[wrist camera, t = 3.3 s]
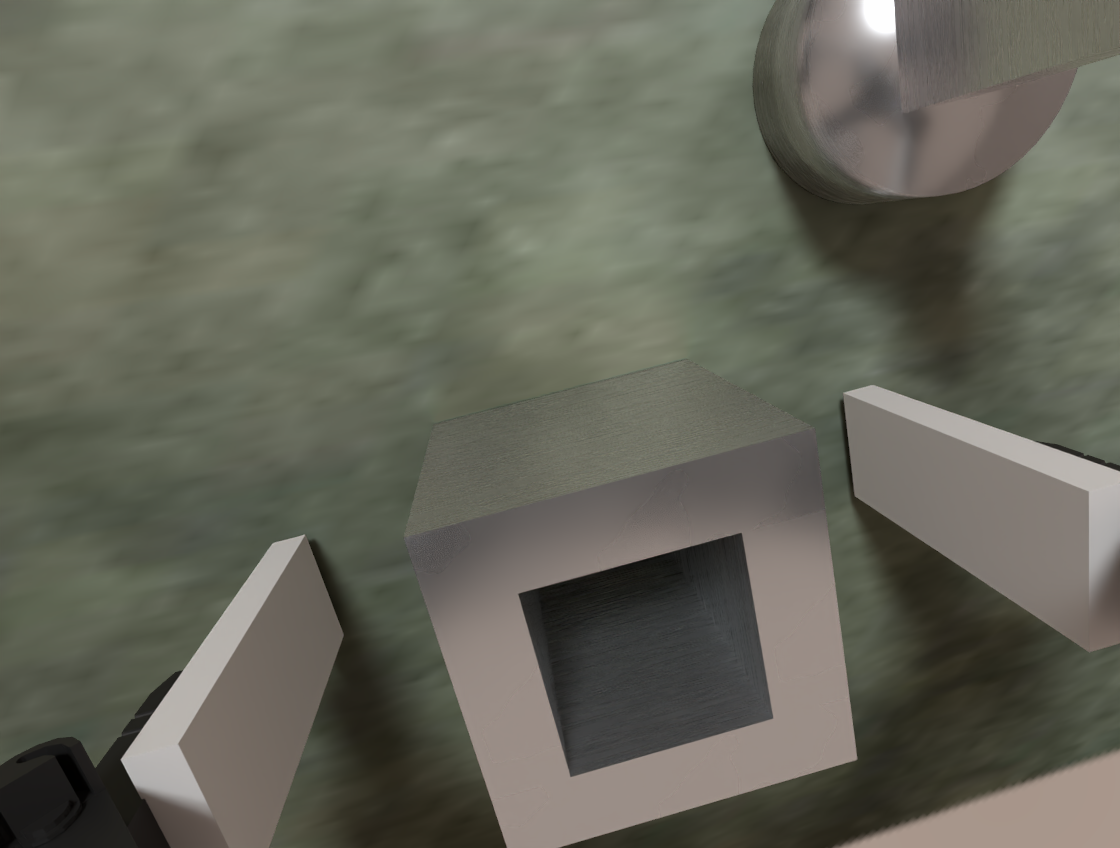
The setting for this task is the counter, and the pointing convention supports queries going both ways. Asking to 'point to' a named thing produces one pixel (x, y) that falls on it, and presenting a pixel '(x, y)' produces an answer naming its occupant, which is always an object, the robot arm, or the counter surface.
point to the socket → (632, 600)
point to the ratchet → (917, 88)
